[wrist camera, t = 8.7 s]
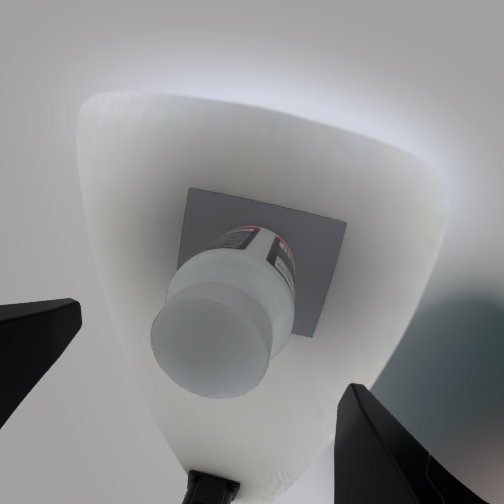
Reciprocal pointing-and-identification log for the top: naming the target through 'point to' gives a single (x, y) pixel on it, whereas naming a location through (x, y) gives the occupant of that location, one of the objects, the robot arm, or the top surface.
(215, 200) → the slate mat
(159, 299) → the top surface
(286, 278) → the pill bottle
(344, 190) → the top surface
